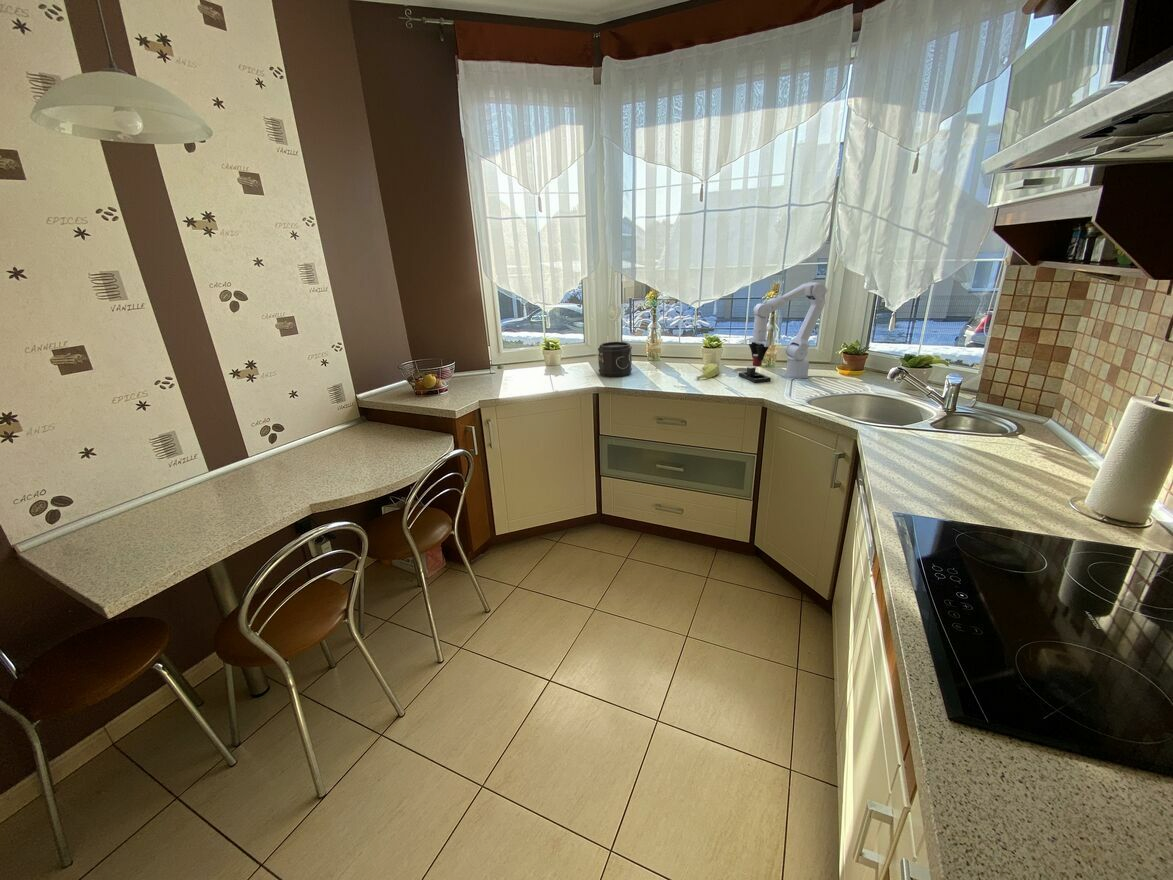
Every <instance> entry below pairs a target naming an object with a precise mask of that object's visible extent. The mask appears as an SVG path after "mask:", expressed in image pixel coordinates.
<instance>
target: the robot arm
mask: <svg viewBox="0 0 1173 880" xmlns="http://www.w3.org/2000/svg"><path fill="white" fill-rule="evenodd" d="M827 293H828V288H827V286H826V284H825V283H823V282H816V281H806V282H805V283H801V284H800V285H799V286H797V287H796V288H794V289H791V291H788V292H787V293H785V294H783V295H780V294H778V295H777V294H774V295H772V297H771V298H770V299H768V300H763V302H762V303H757V304H755V306H754V307H753V309H752V314H753V315H754V321H753V333H752V337H748V342H749V343H748V347H749V349H750V352H751V357H752V359H753V354H758V361H762V362H763V361H764V358H765V356H766V353H767V351H768V350H769V348H770V344H771V343H770V341H768V340H767V329H768V318H769V316H770V315H771V313H773V312H776V311H777V310H779V309H781V308H784V307H785V304H786V303H787V302H790V301H792V300H795V299H797V298H800V297H802V296H805V297H806V298H807V300H808V301H809V304H810V306H809V309H808V310H807V313H806V315H805V317H804V320H803V321H802V324H801V325H800V328H799V330H798V332H797V334H796V336H795V338H793V339H791V340H790V343H789V344H788V345H787V346H786V348H785V354H786V356H787V357H786V358H787V360H786V368H785V369H786V371H785V374H782V375H781V376H782V377H785V378H788V379H790V380H794V379H801V380H802V379H809V377H810V376H808V375H809V369H810V368H809V367H810V361H809V359H807V358H806V357H807V356H808V352H809V351H808V350H809V348H810V344H809V340H810V337H811V335H812V333H813V331H814V329H815V326H816V324H817V322H818V321H819V318H820V316H821V314H822V312H823V310H824V308H825V305H826V295H827Z"/></svg>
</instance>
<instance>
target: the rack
mask: <svg viewBox="0 0 1173 880" xmlns="http://www.w3.org/2000/svg"><path fill="white" fill-rule="evenodd" d="M746 374H747V372H740V371H739V372H738V377H739V378H742V379H743V380H746V381H748V382H750V383H752V384H763V383H771V381H772V378H771V377H769V376H767V375H765V374H762V373H759V372H757V371H755V375H746Z"/></svg>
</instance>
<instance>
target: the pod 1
mask: <svg viewBox="0 0 1173 880" xmlns="http://www.w3.org/2000/svg"><path fill="white" fill-rule="evenodd" d="M746 368H747V374H746V375H755V372H756V368H757V366H753V365H747V366H746Z"/></svg>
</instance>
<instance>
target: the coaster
mask: <svg viewBox="0 0 1173 880" xmlns="http://www.w3.org/2000/svg"><path fill="white" fill-rule="evenodd" d="M734 371H736V372H739V373H740V372H747V367H736V368H734Z"/></svg>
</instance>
